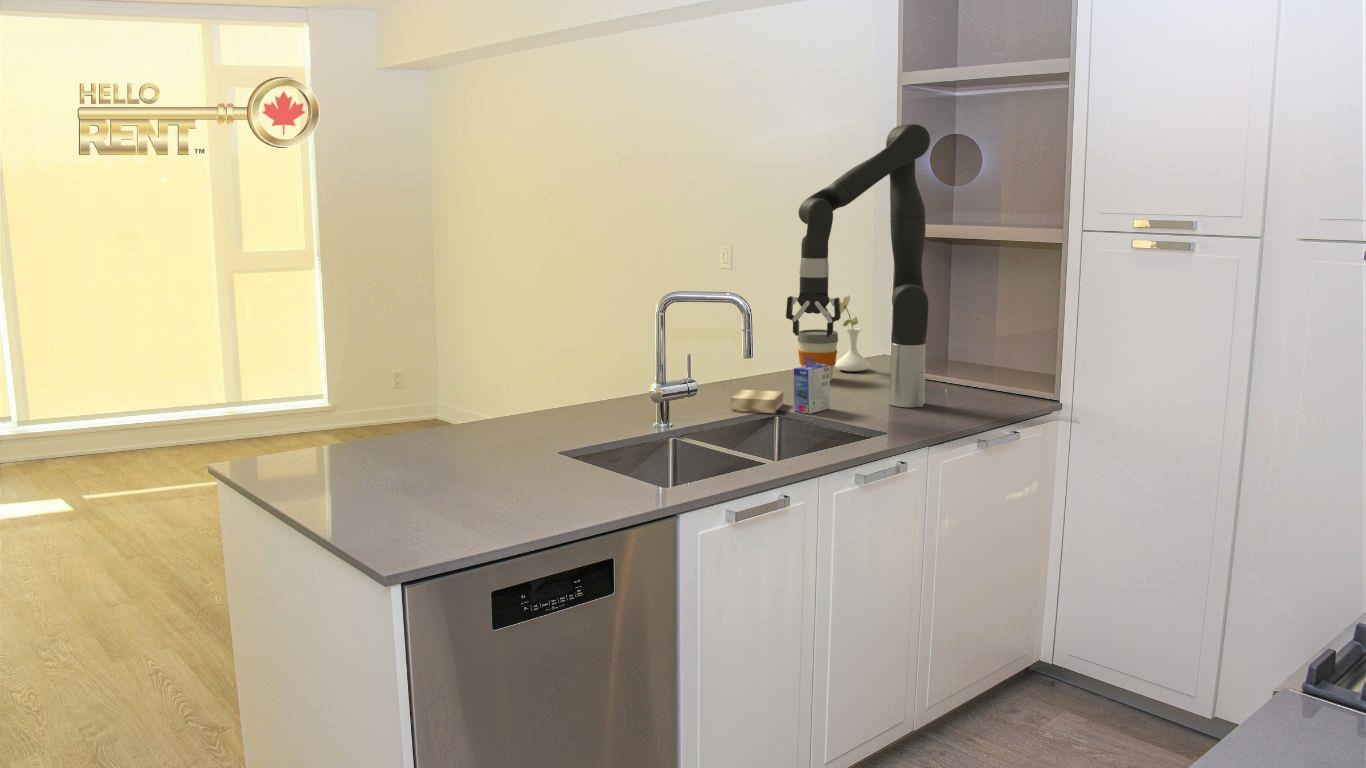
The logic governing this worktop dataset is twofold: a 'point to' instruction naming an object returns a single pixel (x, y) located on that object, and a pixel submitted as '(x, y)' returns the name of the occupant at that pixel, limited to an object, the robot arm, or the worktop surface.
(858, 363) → the flower in vase
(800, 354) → the reusable coffee cup
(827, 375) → the ink cartridge box
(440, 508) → the worktop surface
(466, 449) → the worktop surface
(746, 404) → the birch block
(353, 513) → the worktop surface
